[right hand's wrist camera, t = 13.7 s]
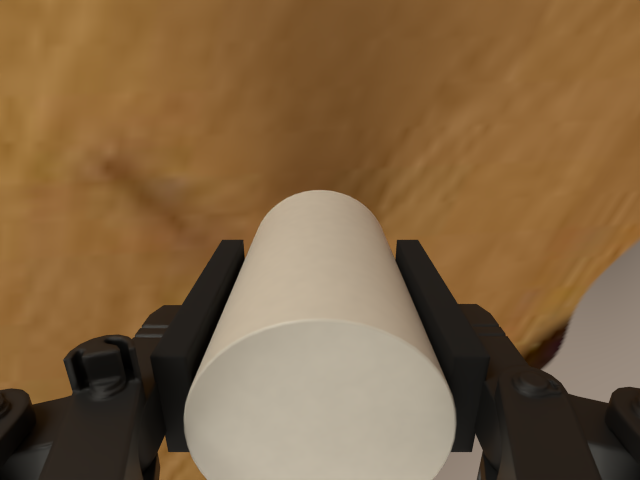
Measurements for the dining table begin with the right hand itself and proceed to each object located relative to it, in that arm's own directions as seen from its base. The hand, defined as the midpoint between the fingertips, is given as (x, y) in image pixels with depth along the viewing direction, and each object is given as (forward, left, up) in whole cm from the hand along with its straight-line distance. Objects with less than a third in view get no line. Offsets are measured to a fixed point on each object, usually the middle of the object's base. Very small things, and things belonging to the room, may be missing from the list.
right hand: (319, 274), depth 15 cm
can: (0, 0, -2) cm, 2 cm away
